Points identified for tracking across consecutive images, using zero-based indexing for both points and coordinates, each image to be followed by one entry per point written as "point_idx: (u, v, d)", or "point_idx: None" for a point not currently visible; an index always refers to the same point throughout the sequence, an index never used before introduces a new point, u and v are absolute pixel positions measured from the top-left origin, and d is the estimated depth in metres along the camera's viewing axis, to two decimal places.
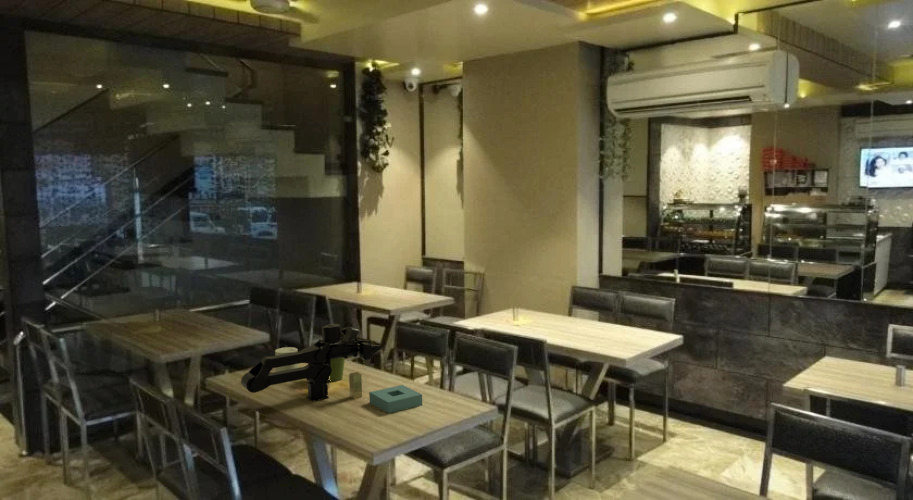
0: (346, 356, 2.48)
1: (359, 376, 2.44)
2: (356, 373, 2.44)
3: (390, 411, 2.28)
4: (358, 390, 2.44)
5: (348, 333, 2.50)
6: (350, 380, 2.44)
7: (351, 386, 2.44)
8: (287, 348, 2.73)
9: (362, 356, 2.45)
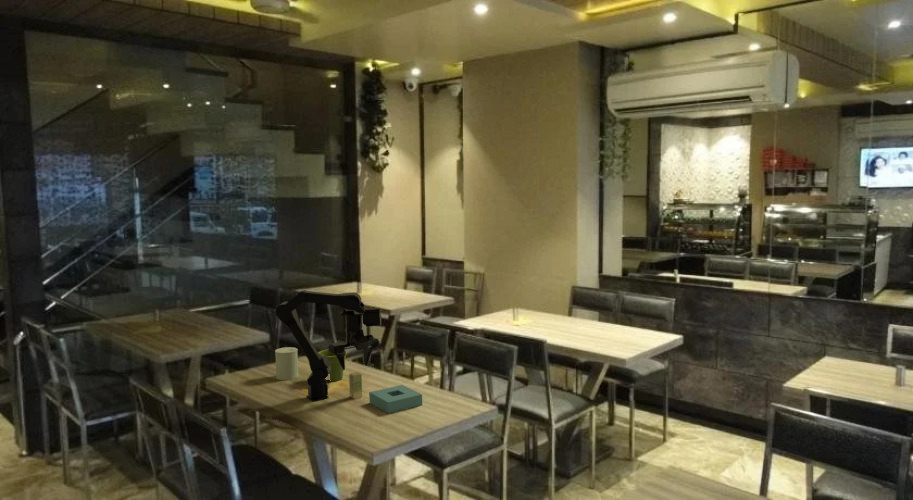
0: (345, 330, 2.43)
1: (359, 376, 2.44)
2: (356, 373, 2.44)
3: (390, 411, 2.28)
4: (358, 390, 2.44)
5: (360, 339, 2.38)
6: (350, 380, 2.44)
7: (351, 386, 2.44)
8: (287, 348, 2.73)
9: (332, 343, 2.40)
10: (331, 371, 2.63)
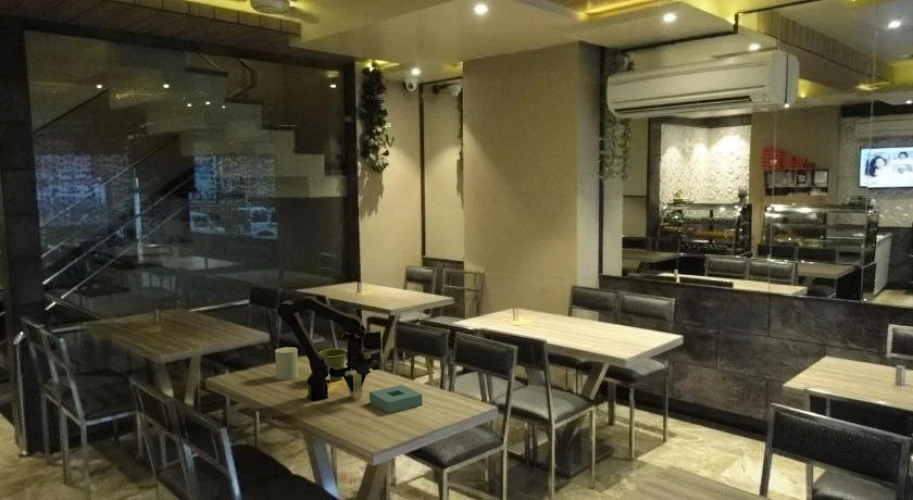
0: (346, 353, 2.44)
1: (359, 376, 2.44)
2: (356, 373, 2.44)
3: (390, 411, 2.28)
4: (358, 390, 2.44)
5: (361, 363, 2.38)
6: None
7: None
8: (287, 348, 2.73)
9: (333, 367, 2.40)
10: None
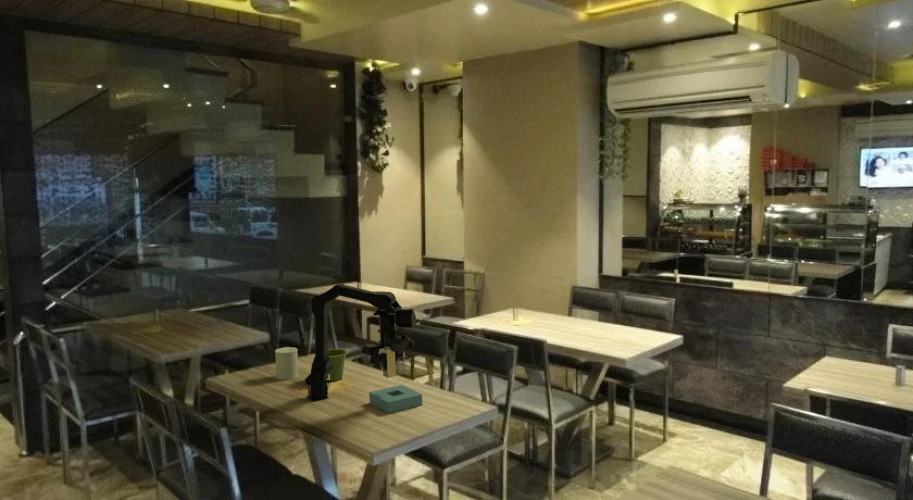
0: (379, 331, 2.36)
1: (393, 354, 2.36)
2: (389, 351, 2.36)
3: (390, 411, 2.28)
4: (392, 368, 2.36)
5: (395, 340, 2.31)
6: None
7: None
8: (287, 348, 2.73)
9: (366, 345, 2.32)
10: None
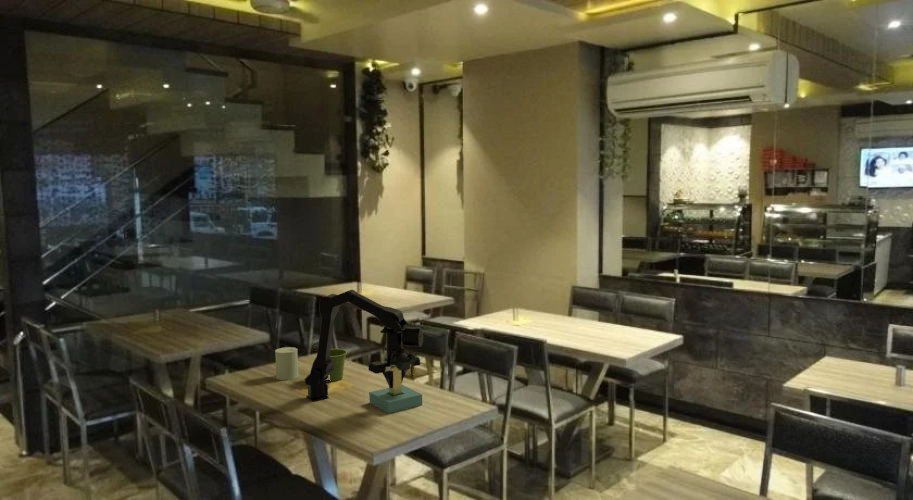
0: (385, 349, 2.35)
1: (399, 372, 2.35)
2: (395, 369, 2.36)
3: (390, 411, 2.28)
4: (398, 386, 2.35)
5: (402, 358, 2.30)
6: None
7: None
8: (287, 348, 2.73)
9: (372, 362, 2.32)
10: None
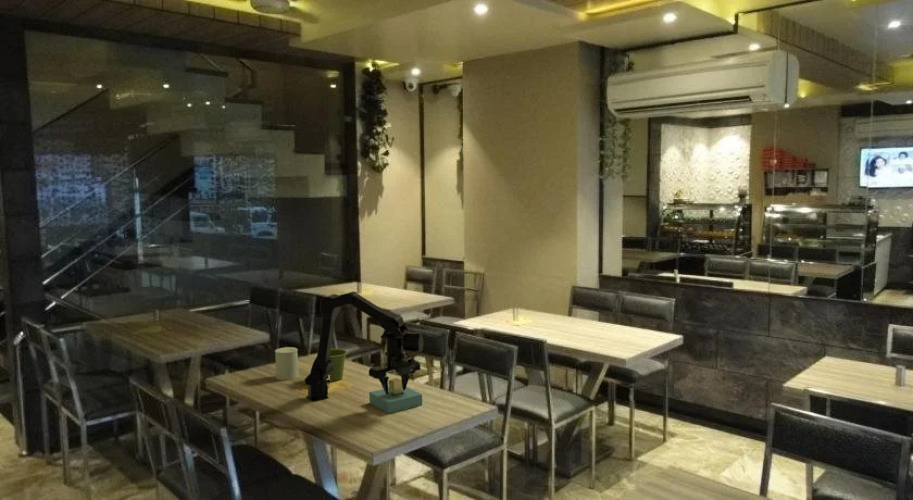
0: (385, 354, 2.35)
1: (399, 382, 2.35)
2: (396, 379, 2.36)
3: (390, 411, 2.28)
4: None
5: (402, 363, 2.30)
6: (390, 386, 2.36)
7: (391, 393, 2.36)
8: (287, 348, 2.73)
9: (373, 367, 2.32)
10: None
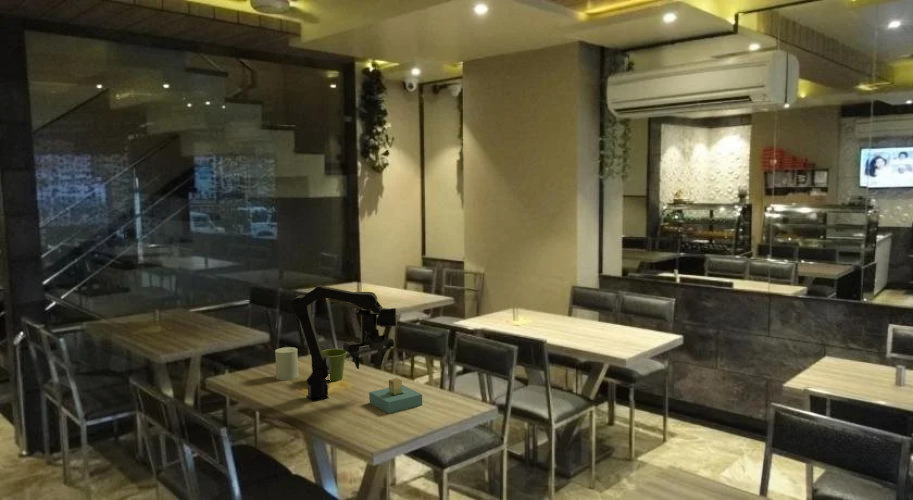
0: (360, 330, 2.43)
1: (399, 382, 2.35)
2: (396, 379, 2.36)
3: (390, 411, 2.28)
4: None
5: (375, 339, 2.37)
6: (390, 386, 2.36)
7: (391, 393, 2.36)
8: (287, 348, 2.73)
9: (347, 342, 2.40)
10: (331, 371, 2.63)
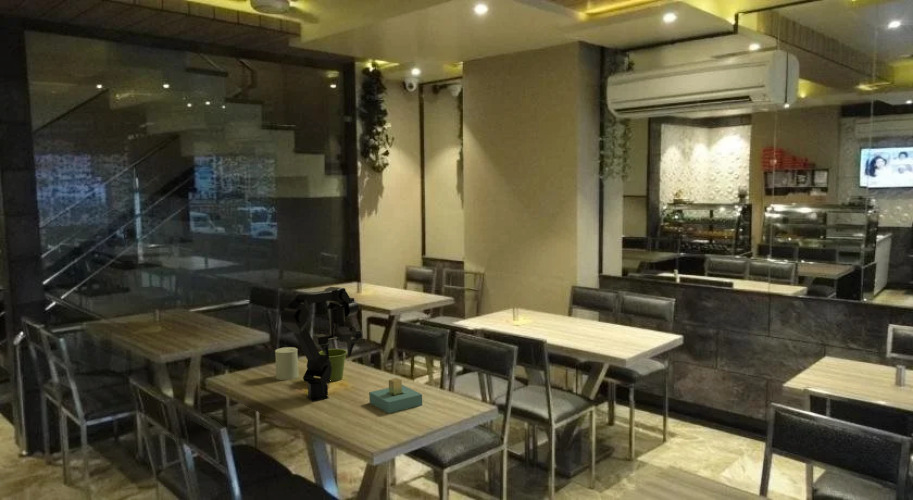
0: (329, 322, 2.54)
1: (399, 382, 2.35)
2: (396, 379, 2.36)
3: (390, 411, 2.28)
4: None
5: (343, 330, 2.49)
6: (390, 386, 2.36)
7: (391, 393, 2.36)
8: (287, 348, 2.73)
9: (316, 335, 2.51)
10: (331, 371, 2.63)
